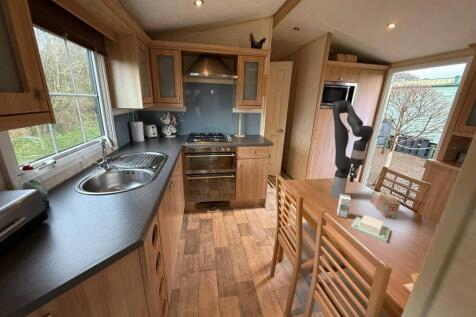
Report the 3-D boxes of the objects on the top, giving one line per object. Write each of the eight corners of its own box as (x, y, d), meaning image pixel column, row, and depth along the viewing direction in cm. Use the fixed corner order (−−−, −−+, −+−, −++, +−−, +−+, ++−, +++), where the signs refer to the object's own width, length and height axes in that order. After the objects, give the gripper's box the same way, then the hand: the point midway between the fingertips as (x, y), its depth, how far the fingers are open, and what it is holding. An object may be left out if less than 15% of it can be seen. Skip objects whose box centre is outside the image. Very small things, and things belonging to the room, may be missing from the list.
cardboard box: (370, 201, 147) (374, 187, 144) (379, 202, 146) (383, 188, 142) (385, 218, 127) (389, 202, 124) (395, 219, 126) (400, 203, 122)
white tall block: (345, 213, 132) (349, 195, 128) (347, 218, 127) (351, 199, 122) (336, 212, 134) (340, 193, 129) (337, 216, 128) (341, 197, 124)
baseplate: (350, 228, 117) (352, 220, 116) (356, 218, 127) (357, 211, 125) (386, 242, 106) (388, 234, 104) (389, 230, 115) (392, 222, 114)
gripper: (353, 153, 130) (349, 175, 135) (348, 158, 120) (343, 181, 125) (366, 155, 125) (361, 178, 130) (361, 160, 115) (356, 185, 120)
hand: (352, 180), depth 127 cm, fingers open, 8 cm apart
